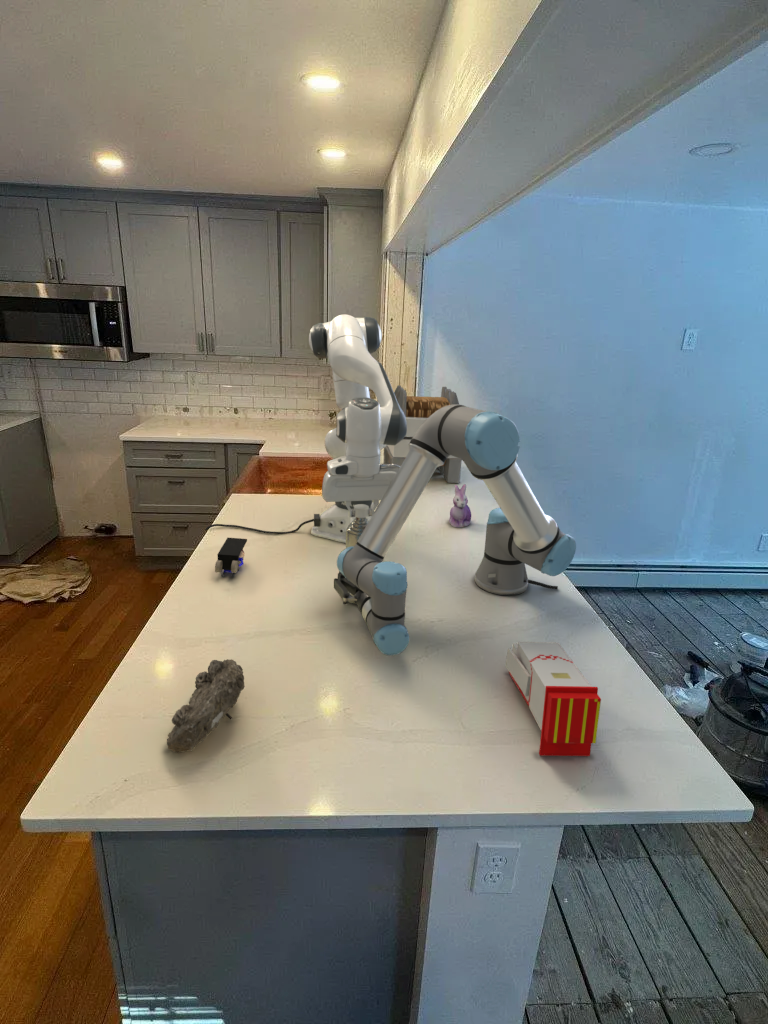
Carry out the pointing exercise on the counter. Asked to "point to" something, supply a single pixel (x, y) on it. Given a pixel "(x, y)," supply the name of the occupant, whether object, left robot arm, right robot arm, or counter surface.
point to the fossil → (206, 705)
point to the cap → (361, 510)
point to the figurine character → (230, 556)
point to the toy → (556, 697)
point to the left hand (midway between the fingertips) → (360, 515)
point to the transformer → (415, 417)
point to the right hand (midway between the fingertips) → (355, 568)
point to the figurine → (460, 508)
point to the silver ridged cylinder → (355, 533)
